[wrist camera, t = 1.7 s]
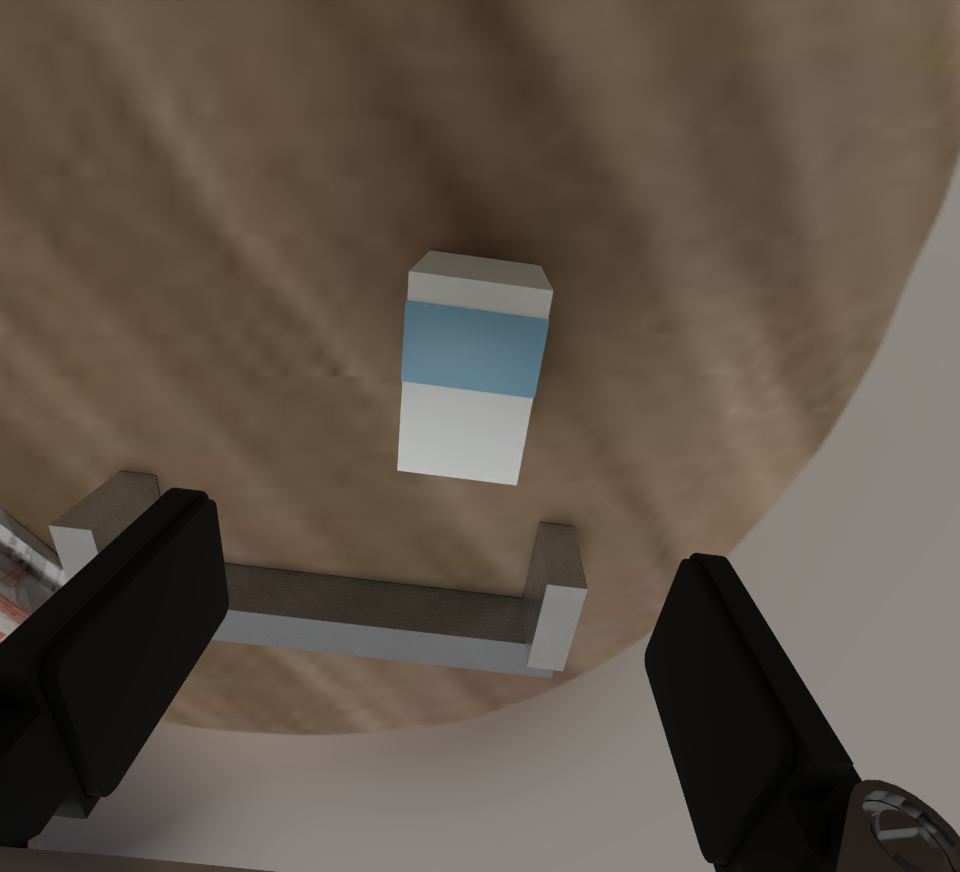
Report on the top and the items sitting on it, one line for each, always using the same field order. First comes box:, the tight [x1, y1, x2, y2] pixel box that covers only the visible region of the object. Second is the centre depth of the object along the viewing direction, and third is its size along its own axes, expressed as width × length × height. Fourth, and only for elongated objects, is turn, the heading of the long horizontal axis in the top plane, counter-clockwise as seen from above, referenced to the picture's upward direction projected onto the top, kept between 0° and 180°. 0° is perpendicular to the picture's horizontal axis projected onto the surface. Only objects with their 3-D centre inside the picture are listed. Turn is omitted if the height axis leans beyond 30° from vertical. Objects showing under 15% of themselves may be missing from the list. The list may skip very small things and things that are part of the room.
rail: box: [49, 471, 588, 678], centre depth 28 cm, size 9×26×5 cm, turn 83°
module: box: [397, 250, 553, 485], centre depth 21 cm, size 8×5×6 cm, turn 173°
